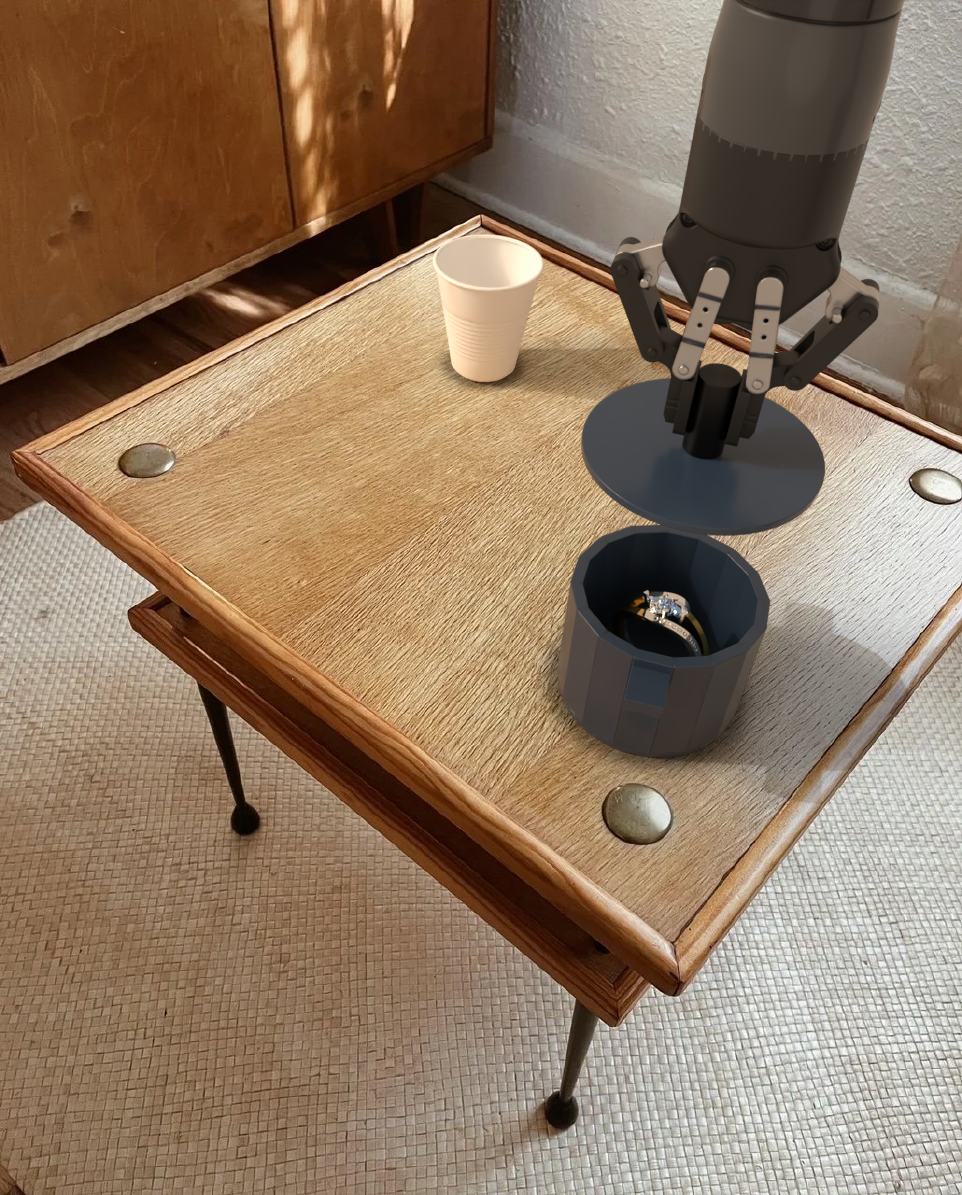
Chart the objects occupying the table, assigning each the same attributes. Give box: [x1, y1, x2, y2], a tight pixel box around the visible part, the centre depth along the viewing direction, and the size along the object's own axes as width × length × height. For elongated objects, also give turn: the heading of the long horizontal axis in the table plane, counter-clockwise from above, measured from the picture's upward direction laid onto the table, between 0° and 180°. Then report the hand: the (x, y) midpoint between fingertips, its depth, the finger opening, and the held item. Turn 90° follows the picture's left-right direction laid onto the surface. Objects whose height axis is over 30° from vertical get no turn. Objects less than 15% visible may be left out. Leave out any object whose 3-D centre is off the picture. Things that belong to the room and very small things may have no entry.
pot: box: [556, 524, 771, 758], centre depth 69 cm, size 13×18×10 cm
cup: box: [432, 234, 545, 383], centre depth 95 cm, size 10×10×11 cm
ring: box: [612, 591, 709, 657], centre depth 69 cm, size 7×3×8 cm, turn 44°
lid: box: [580, 362, 826, 537], centre depth 57 cm, size 14×14×6 cm
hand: (707, 430), depth 57 cm, fingers closed on lid, 2 cm apart
